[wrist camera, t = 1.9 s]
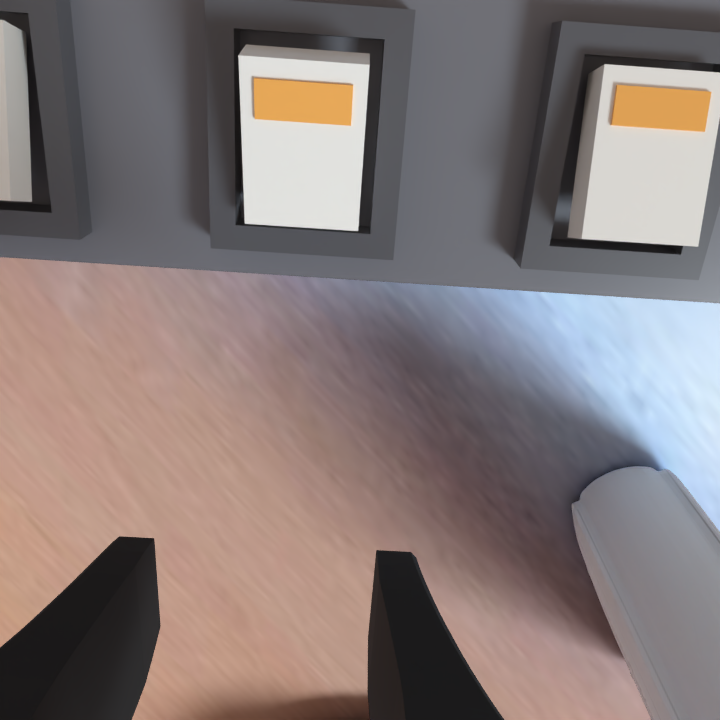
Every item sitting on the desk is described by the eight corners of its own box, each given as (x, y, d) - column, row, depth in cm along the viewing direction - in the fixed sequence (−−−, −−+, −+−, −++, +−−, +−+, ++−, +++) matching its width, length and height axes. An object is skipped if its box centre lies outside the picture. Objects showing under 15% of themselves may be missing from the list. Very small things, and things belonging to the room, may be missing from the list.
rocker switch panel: (-134, 217, 20) (-240, 251, 16) (-199, -63, 17) (-344, -93, 13) (919, 286, 21) (1033, 332, 17) (1027, 30, 18) (1188, 25, 14)
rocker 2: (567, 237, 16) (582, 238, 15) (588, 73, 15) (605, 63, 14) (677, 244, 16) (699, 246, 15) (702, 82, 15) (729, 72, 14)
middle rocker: (251, 205, 16) (244, 224, 15) (245, 44, 14) (237, 55, 13) (358, 213, 16) (358, 232, 16) (369, 53, 14) (369, 65, 13)
